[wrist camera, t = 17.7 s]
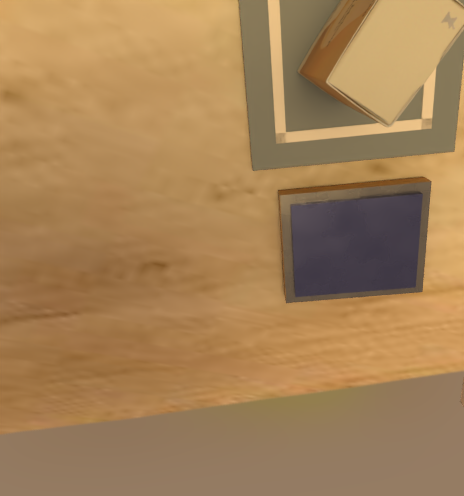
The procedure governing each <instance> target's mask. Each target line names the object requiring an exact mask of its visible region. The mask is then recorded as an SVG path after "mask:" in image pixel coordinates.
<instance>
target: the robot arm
mask: <svg viewBox="0 0 464 496" xmlns="http://www.w3.org/2000/svg"><path fill="white" fill-rule="evenodd" d="M461 403H462V405H463V407H464V379H463V387H462V394H461Z"/></svg>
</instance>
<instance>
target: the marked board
mask: <svg viewBox="0 0 464 496" xmlns="http://www.w3.org/2000/svg"><path fill="white" fill-rule="evenodd" d="M458 1H460V2H461V3H462V4H463V5H464V0H458ZM339 2H340V0H239V9H240V21H241V33H242V46H243V58H244V70H245V82H246V95H247V107H248V119H249V131H250V144H251V156H252V168H253V171H256V170H267V169H277V168H288V167H298V166H309V165H319V164H329V163H340V162H350V161H361V160H371V159H382V158H392V157H403V156H413V155H424V154H434V153H445V152H454V150H455V140H456V130H457V120H458V110H459V100H460V90H461V80H462V70H463V60H464V30H463V31H462V32H461V34H460V35H459V37H458V38H457V39H456V41H455V42H454V43H453V45H452V46H451V47H450V49H449V50H448V51H447V53H446V54H445V55H444V57H443V58H442V59H441V61H440V62H439V64H438V65H437V67H436V68H435V70H434V71H433V72H432V74H431V75H430V76H429V78H428V79H427V80H426V82H425V83H424V84H423V86H422V87H421V88H420V89H419V91H418V92H417V93H416V95H415V96H414V97H413V99H412V100H411V102H410V103H409V104H408V106H407V107H406V108H405V110H404V111H403V112H402V114H401V115H400V116H399V117H398V119H397V120H396V121H395V123H394V124H393V125H392V126H391V127H385V126H383V125H382V124H380V123H378V122H376V121H374V120H373V119H371V118H369V117H367V116H365V115H363V114H362V113H360V112H358V111H356V110H354V109H352V108H351V107H348V106H346V105H345V104H343V103H341V102H339V101H338V100H336V99H335V98H333V97H332V96H330V95H329V94H327V93H326V92H324V91H323V90H321V89H320V88H319V87H317V86H316V85H314V84H313V83H312V82H310V81H309V80H307V79H306V78H305V77H303V76H302V75H301V74H299V73H298V72H297V70H298V68H299V67H300V65H301V63H302V61H303V60H304V58H305V56H306V55H307V53H308V51H309V49H310V48H311V46H312V44H313V43H314V41H315V39H316V37H317V36H318V34H319V33H320V31H321V30H322V28H323V26H324V25H325V23H326V22H327V20H328V18H329V17H330V15H331V14H332V12H333V11H334V9H335V8H336V6H337V5H338V3H339Z"/></svg>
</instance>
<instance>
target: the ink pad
mask: <svg viewBox="0 0 464 496" xmlns="http://www.w3.org/2000/svg"><path fill="white" fill-rule="evenodd" d="M430 191H431V181H430V180H428V179H427V178H425V177H417V178H406V179H395V180H385V181H374V182H363V183H352V184H342V185H331V186H320V187H309V188H299V189H288V190H278V194H279V211H280V228H281V244H282V261H283V278H284V295H285V300H286V303H291V302H304V301H316V300H329V299H341V298H353V297H366V296H378V295H391V294H403V293H415V292H422V290H423V277H424V265H425V253H426V240H427V228H428V216H429V204H430Z"/></svg>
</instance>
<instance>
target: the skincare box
mask: <svg viewBox="0 0 464 496" xmlns="http://www.w3.org/2000/svg"><path fill="white" fill-rule="evenodd" d="M463 30H464V5H463V4H462V3H461V2H460V1H458V0H340V2H339V3H338V5H337V6H336V8H335V9H334V11H333V12H332V14H331V15H330V17H329V18H328V20H327V22H326V23H325V25H324V26H323V28H322V30H321V31H320V33H319V34H318V36H317V37H316V39H315V41H314V43H313V44H312V46H311V48H310V49H309V51H308V53H307V55H306V56H305V58H304V60H303V61H302V63H301V65H300V67H299V68H298V70H297V72H298V73H299V74H301V75H302V76H303V77H305V78H306V79H307V80H309V81H310V82H312V83H313V84H314V85H316V86H317V87H319V88H320V89H321V90H323V91H324V92H326V93H327V94H329V95H330V96H332V97H333V98H335V99H336V100H338V101H339V102H341V103H343V104H345V105H346V106H348V107H351V108H352V109H354V110H356V111H358V112H360V113H362V114H363V115H365V116H367V117H369V118H371V119H373V120H374V121H376V122H378V123H380V124H382V125H383V126H385V127H391V126H392V125H393V124H394V123H395V121H396V120H397V119H398V117H399V116H400V115H401V114H402V112H403V111H404V110H405V108H406V107H407V106H408V104H409V103H410V102H411V100H412V99H413V97H414V96H415V95H416V93H417V92H418V91H419V89H420V88H421V87H422V86H423V84H424V83H425V82H426V80H427V79H428V78H429V76H430V75H431V74H432V72H433V71H434V70H435V68H436V67H437V65H438V64H439V62H440V61H441V59H442V58H443V57H444V55H445V54H446V53H447V51H448V50H449V49H450V47H451V46H452V45H453V43H454V42H455V41H456V39H457V38H458V37H459V35H460V34H461V32H462V31H463Z"/></svg>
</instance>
